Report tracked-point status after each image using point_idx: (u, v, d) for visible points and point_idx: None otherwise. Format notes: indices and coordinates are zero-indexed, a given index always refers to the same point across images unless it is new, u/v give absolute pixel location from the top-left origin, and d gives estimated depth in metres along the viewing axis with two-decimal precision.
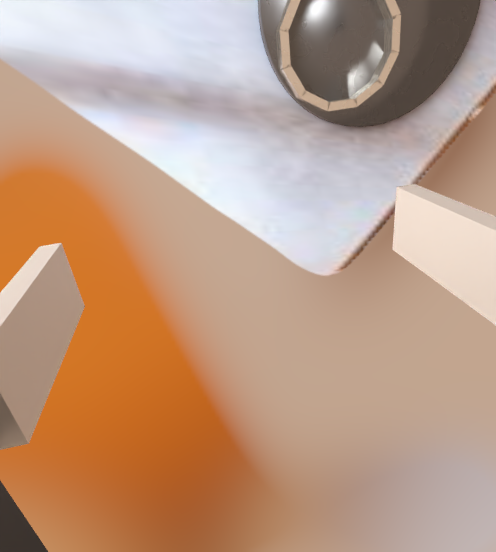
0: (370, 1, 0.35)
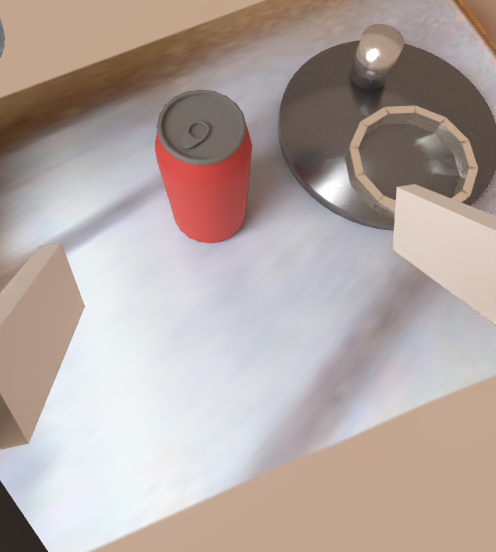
0: (388, 128, 0.38)
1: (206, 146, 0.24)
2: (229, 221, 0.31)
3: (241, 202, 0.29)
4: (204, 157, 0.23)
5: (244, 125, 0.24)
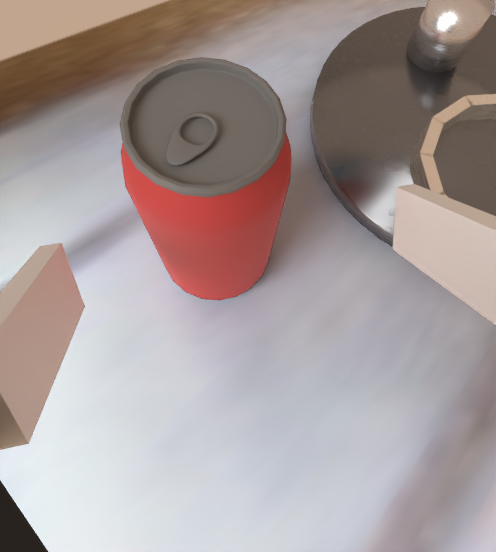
0: (467, 126, 0.26)
1: (213, 160, 0.13)
2: (247, 273, 0.19)
3: (268, 246, 0.18)
4: (210, 181, 0.12)
5: (283, 120, 0.13)
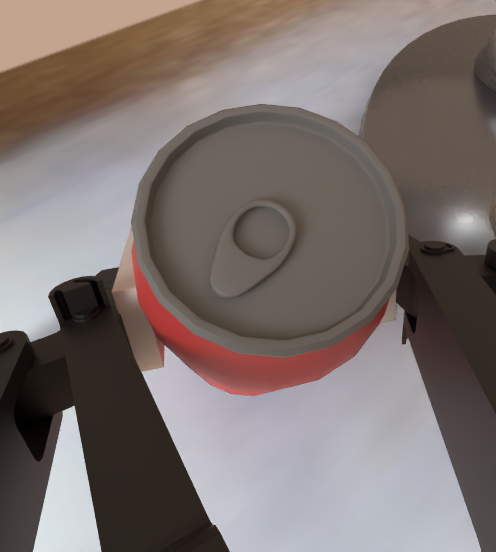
0: None
1: (288, 284, 0.07)
2: None
3: None
4: (285, 325, 0.07)
5: (404, 214, 0.08)
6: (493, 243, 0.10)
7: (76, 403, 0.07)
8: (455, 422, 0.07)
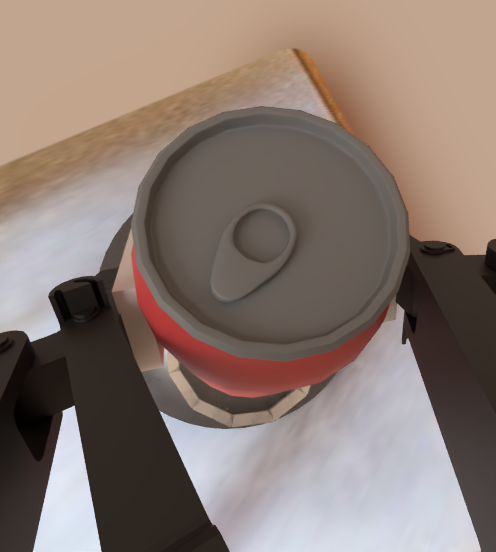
0: None
1: (289, 288, 0.07)
2: None
3: None
4: (286, 329, 0.07)
5: (405, 217, 0.08)
6: (493, 243, 0.10)
7: (76, 403, 0.07)
8: (455, 422, 0.07)
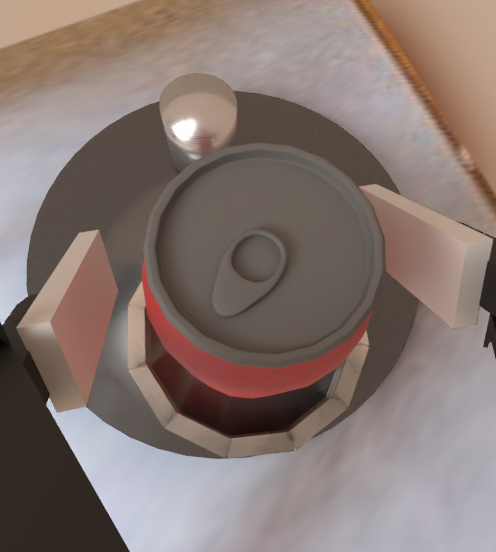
0: None
1: (280, 304, 0.08)
2: None
3: None
4: (277, 340, 0.08)
5: (382, 242, 0.09)
6: None
7: None
8: None
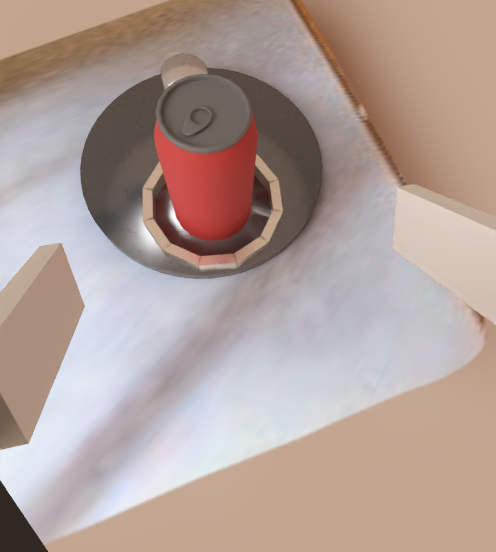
0: None
1: (209, 133, 0.22)
2: (233, 216, 0.29)
3: (246, 196, 0.28)
4: (207, 145, 0.22)
5: (250, 111, 0.22)
6: None
7: None
8: None
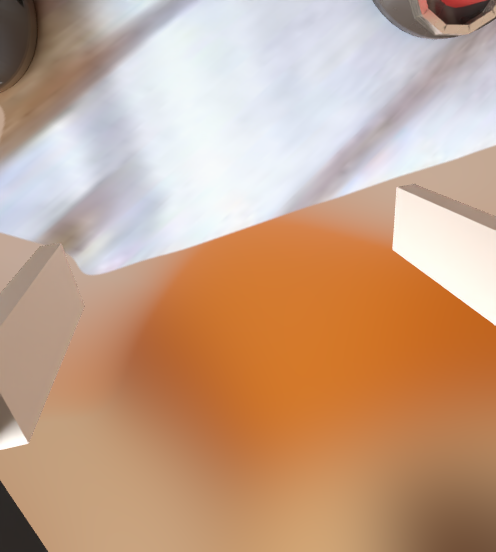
0: None
1: None
2: None
3: None
4: None
5: None
6: None
7: None
8: None
